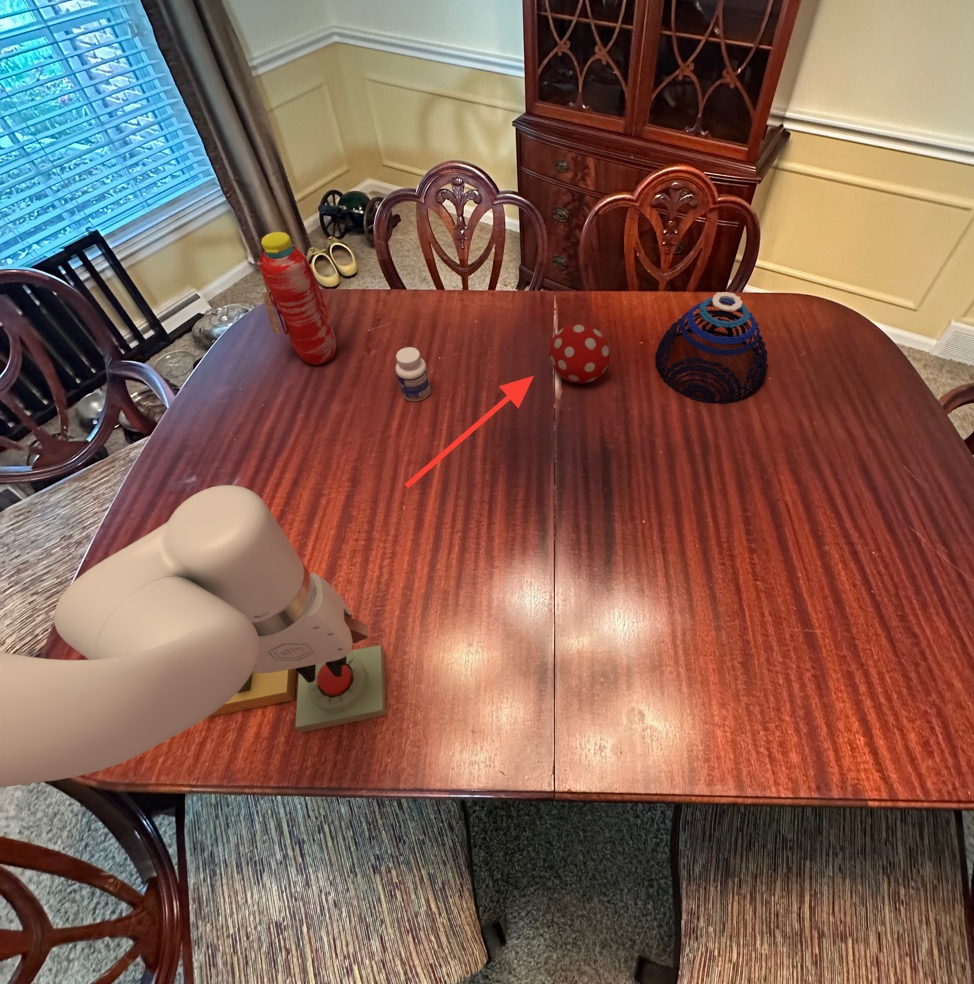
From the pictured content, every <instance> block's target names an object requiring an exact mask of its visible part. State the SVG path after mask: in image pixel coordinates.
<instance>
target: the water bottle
mask: <svg viewBox="0 0 974 984" xmlns="http://www.w3.org/2000/svg"><path fill="white" fill-rule="evenodd" d="M260 243H261V246H262V249H263V250H264V252H263V253H261V255H260V259H259V260H257V261H256V264H257V266H258V269H259V272H260V276H261V278H262V281H263V285H264V287H265V289H266V291H262V292H261V294H262V297H263V300H264V304H265V307H266V312H267V314H268V319H269V322H270V325H271V329H272V332H273V334H276V335H281V330H280V326H279V323H278V318H279V321H280V324H281V327H282V331H283V333H284V334H285V335H288V336H289V340H290V342H291V344H292V346H293V348H294V351H295V352H296V353H297V355H298V356H299V357H300V358H301V359H302V360H303V361H304V362H305V363H307V364H310V365H314V366H318V365H324V364H325V363H328V362H329V361H331V360H332V359H333V358H334V356H335V355H336V350H337V338H336V335H335V332H334V329H333V326H332V324H331V322H330V319H329V318H330V314H329V310H328V307H327V304H325V301H324V297H323V293H322V290H321V288H320V286H319V282H318V281H317V278H316V276H315V272H314V270H313V268H312V266H311V264H310V262H309V261H308V258H307V256H306V255H305V254H304V253H303V252H302V250H300V249H299V248H298V247H297V246H296V245H294V244H293V243H292V240H291V237H290V235H289V234H287V233H286V232H282V231H273V232H270V233H268V234H265V235H264V236H263V237H262V238H261V242H260ZM275 310H276V311H275ZM276 312H277V315H276ZM277 316H278V318H277Z"/></svg>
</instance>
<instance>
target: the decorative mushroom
mask: <svg viewBox="0 0 974 984" xmlns="http://www.w3.org/2000/svg"><path fill="white" fill-rule="evenodd" d="M548 346H549V347H548V358H549V361H550V365H551V367H552V369H553V370H554V371H555V373H556V374H557V375H558V376H559V377H560V378H562V379H564V380H565V381H567V382H569V383H573V384H580V385H581V384H586V383H591V382H594V381H596V380H597V379H598V378H600V377H601V376H602V375H604V373H605V371H606V370H607V369H608V367H609V365H610V358H611V350H610V347H609V343H608V340H607V339H606V338H605V337H604V336H603V334H602V333H601V332H600V331H599V330H598V329H596V328H594V327H593V326H590V325H589V324H581V323H574V324H570V325H566V326H563V327H562V328H561V329H560V330H558V331H557V332H555V333H554V335H553V337H552V339H551V340H550V343H549V345H548Z"/></svg>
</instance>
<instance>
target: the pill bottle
mask: <svg viewBox="0 0 974 984" xmlns="http://www.w3.org/2000/svg"><path fill="white" fill-rule="evenodd" d="M395 359H396V365H395V373H396V377H397V380H398V384H399V388H400V392H401V395H402V397H403V398H404V399H405V400H407V401H410V402H421V401H423V400H424V399H426V398H427V397H428V396H429V395H430V394H431V392H432V387H431V383H430V378H429V373H428V368H427V364H426V361H425V360H424V359H423V358H422V357H421V353H420V351H419V349H417V348H416V347H412V346H407V347H403V348H400V350H398V351H397V353H396V354H395Z"/></svg>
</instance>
